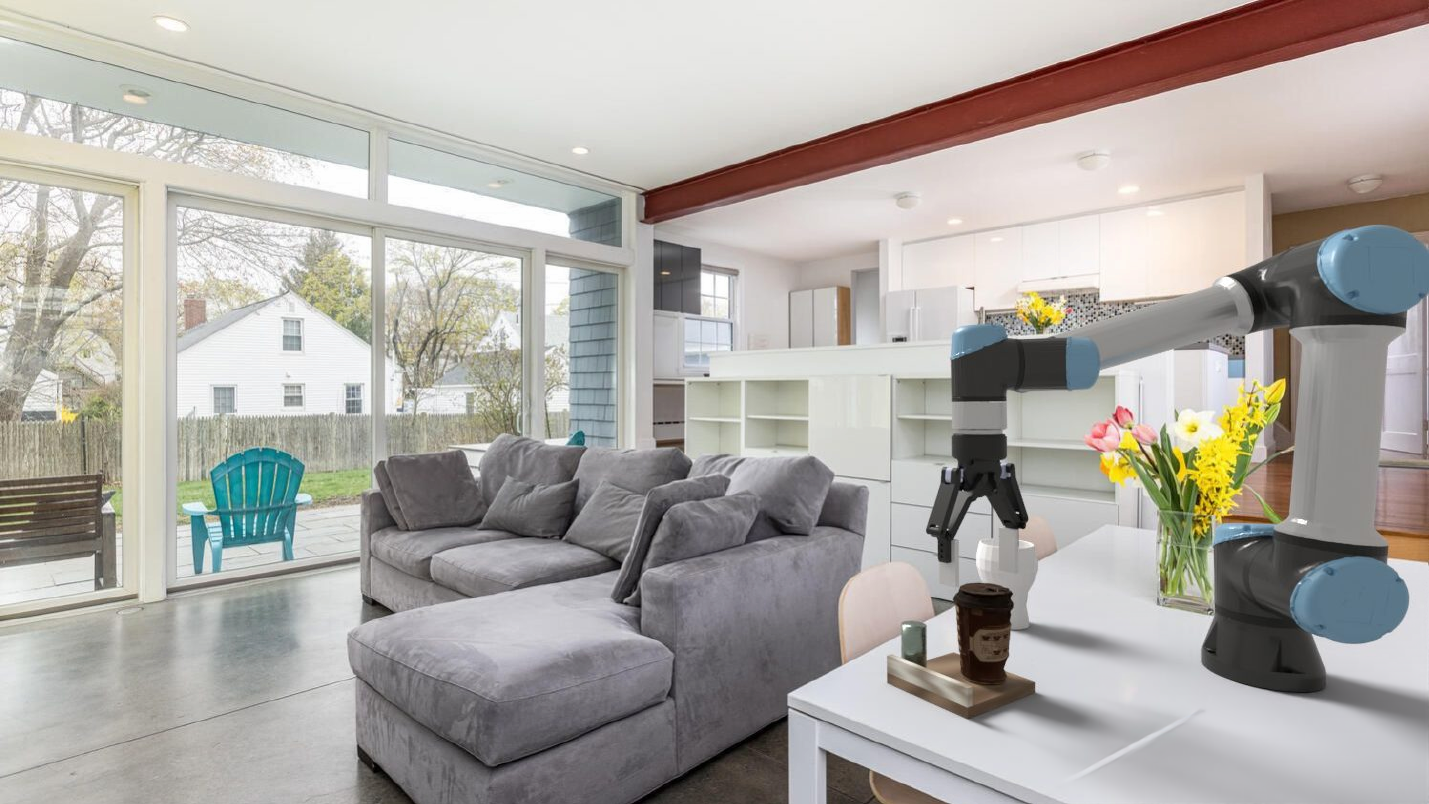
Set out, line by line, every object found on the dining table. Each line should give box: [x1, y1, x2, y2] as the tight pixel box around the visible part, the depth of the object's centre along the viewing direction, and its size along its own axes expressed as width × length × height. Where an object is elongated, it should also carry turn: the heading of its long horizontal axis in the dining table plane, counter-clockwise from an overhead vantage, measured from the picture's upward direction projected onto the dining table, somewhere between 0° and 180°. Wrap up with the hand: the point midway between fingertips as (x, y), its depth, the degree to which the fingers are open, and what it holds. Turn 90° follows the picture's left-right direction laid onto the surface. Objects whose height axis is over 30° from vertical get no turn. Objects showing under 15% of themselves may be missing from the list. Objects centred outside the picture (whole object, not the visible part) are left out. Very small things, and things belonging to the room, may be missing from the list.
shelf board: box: [886, 652, 1036, 720], centre depth 101 cm, size 14×15×4 cm
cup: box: [975, 537, 1039, 631], centre depth 129 cm, size 11×11×15 cm
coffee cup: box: [952, 582, 1014, 684], centre depth 100 cm, size 9×8×13 cm
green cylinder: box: [900, 620, 928, 668], centre depth 103 cm, size 4×4×7 cm
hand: (979, 578), depth 101 cm, fingers open, 13 cm apart
